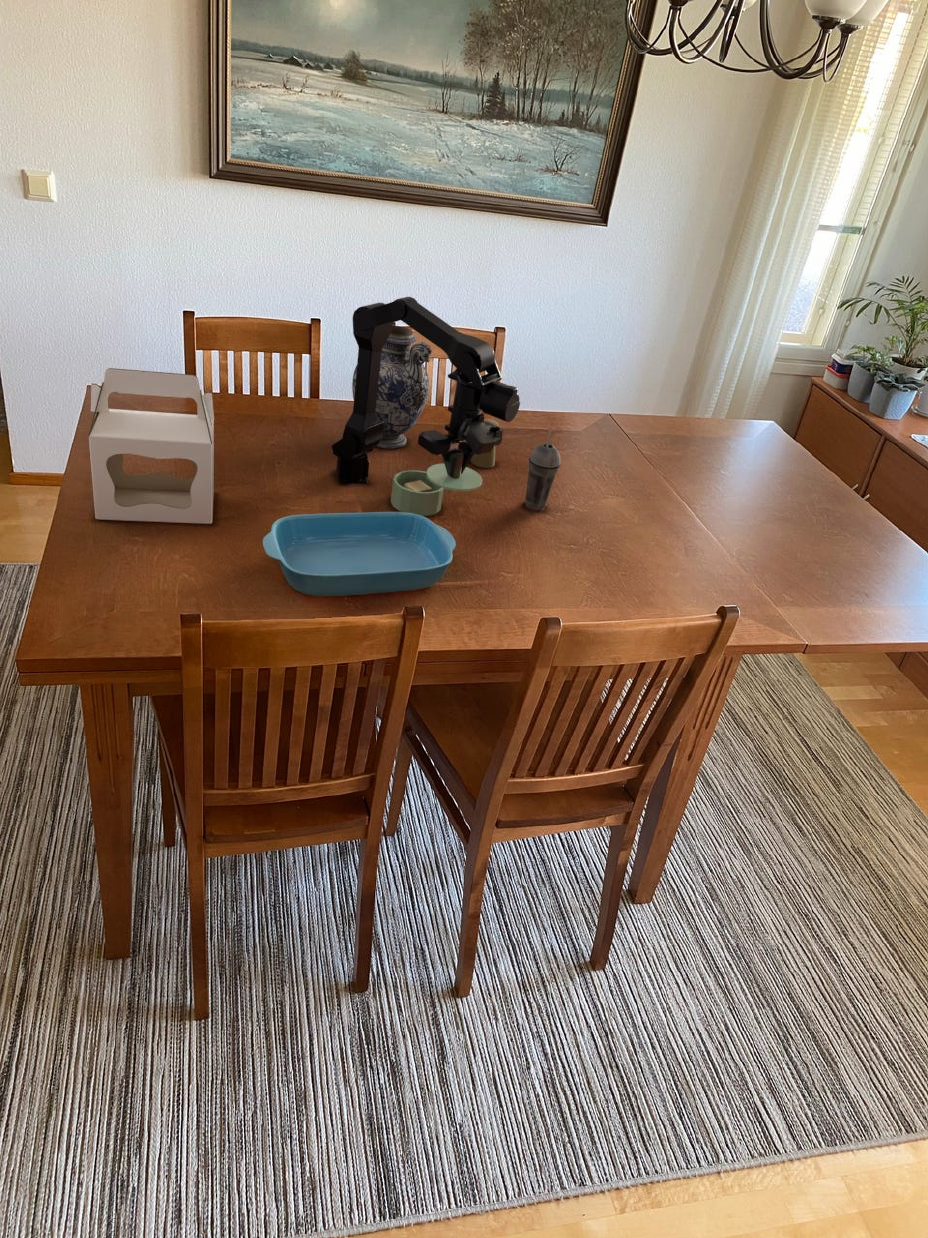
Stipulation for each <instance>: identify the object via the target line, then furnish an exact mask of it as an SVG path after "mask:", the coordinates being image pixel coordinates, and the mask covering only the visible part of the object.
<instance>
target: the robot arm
mask: <svg viewBox="0 0 928 1238" xmlns="http://www.w3.org/2000/svg"><path fill="white" fill-rule="evenodd" d="M399 321H401V322H403V323H404V324H405V325H407V326H408V327H409V328H411V329H412V330H413V331H415V332H417V334H419V335H421V336H422V337H423V338H425V339H427V340H428V341H429V342H430V343H432V344H433V345H435V346H436V347H438V348H439V349H440V350H442V351H443V352H444V353H445V354H446V355H447V358H448V360H449V362H450V364H452V366H454V367H455V370H453V371H452V372H451V373H448V374H447V378H448V379H450V380H453V381H456V385H455V391H454V396H453V403H452V404H451V405H448V407H447V411H448V412H449V413H450V419H449V423H447V424H445V426H444V430H445V431H446V432H448V434H443V433H442V432H440V431H439V430H438V429H430V430H424V431H421V432H420V433H419V434H418V439H417V445H418V446H420V447H422V448H423V449H424V450H426V451H427V452H429V453H430V454H431V455H435V456H439V455H441V458H442V460H443V463H444V464H445V468H446V471H447V474H448V476H450V477H451V476H452V475H453V472H454V468H455V463H456V458H457V456H458V455H459V454H461V453H463V454H464V459H463V465H462V470H461V474H462V473H463V472H464V470H465V468H466V467H467V466H468V465H469V463H470V462H471V458H472V457H473V455H474V454H477V455H480V454H482V453H487V452H488V453H490V452H491V451H492V449H493V447H494V446H495V447H496V446H500V445H501V444H502V440H503V436H504V435H503V432H504V431H503V429H502V427H501V426H500V425H499V426H494V425H493V424H491V423H489V422H488V421H487V422H484V420H485V415H489V416H491V417H493V418H496V419H498V420H501V421H503V422H506V423H511V422H512V421H513V420H514V419H515V418H516V416H517V414H518V413H519V409H520V405H521V402H520V396H519V394H518V390H519V388H518V387H517V386H513V385H508V384H507V383H503V382H500V381H502V380H503V378H502V375H501V372H500V369H499V366H498V364H497V361H496V358H495V355H496V354H495V351H494V348H493V346H492V345H491V344H490V343H489V342H487V341H485V340H483V339H481V338H478V337H476V336H474V335H469V334H467V333H463V332H461V331H459V330H457V329H456V328H454V327H453V326H451V325H450V324H448V323H447V322H445V321H444V320H443V319H441V318H440V317H439V316H437V315H435V314H434V313H433V312H431V311H430V310H428V309H427V308H426V307H424V306H423V305H422V304H420V303H419V302H418V300H416V299H415V297H412V296H404V297H399V298H397V299H394V301H391V302H388V303H384V302H380V301H379V302H375V303H371V304H366V305H363V306H359V307H358V308H356V309H355V310H354V311H353V313H352V334H353V337H354V339H355V341H356V344H357V346H358V350H357V351H358V352H357V361H356V366H357V372H356V383H355V394H354V400H353V407H352V412H351V414H350V416H349V417H348V419H347V421H346V422H345V425H344V428H343V433H342V438H341V439H339V440H337V441H336V442H335V443H333V444H332V445H331V450H332V454H333V456H336V468H335V469H333V473H334V475H335V477H336V480H337V481H338V483H339V484H340V485H359V484H362V485H363V484H366V485H367V484H368V480H367V478H368V477H369V469H370V460H369V458H368V457H369V455H368V453H372V452H373V450H374V449H375V447H377V445H378V444H379V442H380V440H381V439H383V435H382V431H383V427H384V422H381V421H379V420H378V418H377V416H376V412H375V411H376V401H377V392H378V382H379V373H380V363H381V354H382V348H383V346H384V345H385V343H386V341H387V339H388V338H389V336H390V333H391V329H392V325H393V326H394V323H396V322H399ZM484 372H486V374H484V375H481V373H484Z"/></svg>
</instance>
